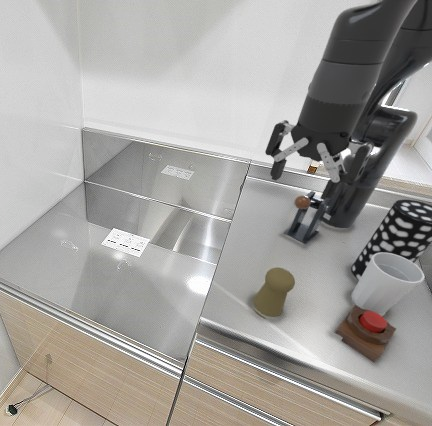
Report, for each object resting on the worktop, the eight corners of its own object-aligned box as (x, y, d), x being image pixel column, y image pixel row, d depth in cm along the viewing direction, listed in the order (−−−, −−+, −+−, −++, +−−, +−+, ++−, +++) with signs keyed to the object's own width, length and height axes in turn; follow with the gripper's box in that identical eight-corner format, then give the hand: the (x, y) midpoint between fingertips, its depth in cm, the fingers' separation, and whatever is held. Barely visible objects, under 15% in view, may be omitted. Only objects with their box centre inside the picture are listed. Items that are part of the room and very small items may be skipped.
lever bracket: (304, 247, 79) (323, 208, 71) (282, 235, 83) (298, 198, 75) (317, 234, 83) (337, 197, 75) (296, 224, 87) (313, 187, 79)
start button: (363, 313, 58) (367, 307, 57) (385, 325, 56) (390, 320, 55) (356, 323, 57) (360, 317, 56) (378, 336, 54) (383, 331, 53)
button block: (350, 310, 63) (359, 299, 60) (390, 334, 58) (401, 323, 56) (332, 334, 59) (341, 323, 56) (373, 362, 54) (385, 351, 52)
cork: (284, 322, 61) (304, 288, 54) (253, 317, 62) (269, 283, 55) (277, 298, 66) (294, 265, 59) (249, 294, 67) (262, 261, 60)
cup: (374, 326, 60) (408, 288, 53) (336, 297, 66) (362, 259, 59) (398, 312, 62) (434, 274, 55) (359, 285, 68) (387, 247, 61)
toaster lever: (303, 211, 66) (311, 198, 65) (289, 205, 68) (297, 192, 67) (319, 211, 77) (326, 200, 76) (307, 206, 79) (313, 195, 78)
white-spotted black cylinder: (353, 286, 68) (402, 218, 56) (345, 262, 74) (388, 196, 62) (397, 297, 65) (458, 228, 53) (385, 270, 72) (437, 204, 60)
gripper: (407, 98, 40) (352, 197, 50) (300, 81, 49) (271, 166, 59) (387, 111, 36) (333, 214, 46) (276, 89, 45) (250, 179, 55)
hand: (298, 187), depth 52 cm, fingers open, 8 cm apart
